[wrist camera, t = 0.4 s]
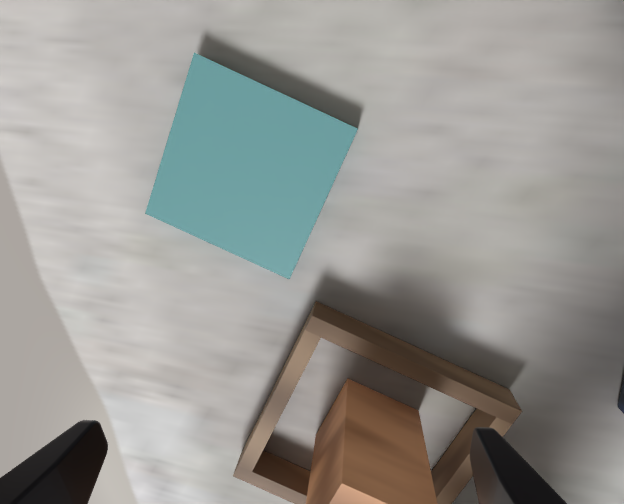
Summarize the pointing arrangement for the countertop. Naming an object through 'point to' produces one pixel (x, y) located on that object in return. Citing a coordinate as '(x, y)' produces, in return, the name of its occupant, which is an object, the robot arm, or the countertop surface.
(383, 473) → the block
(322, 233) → the countertop surface
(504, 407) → the pocket frame
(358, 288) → the countertop surface
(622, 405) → the box
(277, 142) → the plate
